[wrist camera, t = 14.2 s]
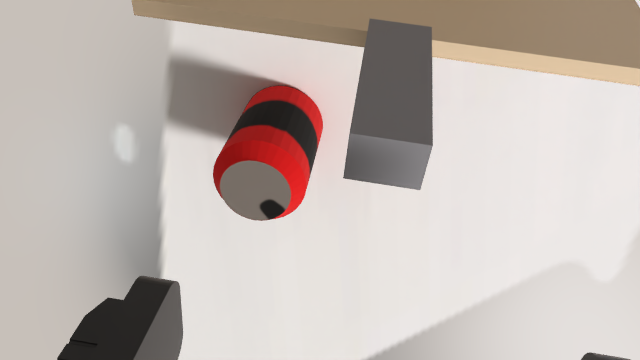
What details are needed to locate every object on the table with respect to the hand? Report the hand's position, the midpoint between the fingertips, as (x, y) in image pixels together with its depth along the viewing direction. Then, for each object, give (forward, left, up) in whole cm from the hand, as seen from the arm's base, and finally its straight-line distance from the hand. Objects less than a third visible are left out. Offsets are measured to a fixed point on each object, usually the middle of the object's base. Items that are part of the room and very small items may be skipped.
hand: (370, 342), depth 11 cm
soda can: (+16, -8, -38) cm, 42 cm away
